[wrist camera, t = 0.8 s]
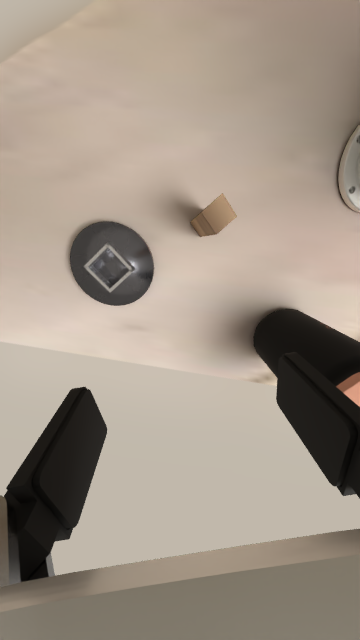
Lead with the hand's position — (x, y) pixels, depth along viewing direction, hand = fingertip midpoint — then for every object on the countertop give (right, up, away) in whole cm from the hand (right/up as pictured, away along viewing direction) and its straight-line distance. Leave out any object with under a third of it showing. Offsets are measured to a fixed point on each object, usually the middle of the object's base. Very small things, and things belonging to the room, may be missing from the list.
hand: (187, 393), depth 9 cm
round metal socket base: (-10, +12, +20) cm, 25 cm away
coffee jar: (+18, +1, +26) cm, 32 cm away
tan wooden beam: (+3, +18, +18) cm, 26 cm away
